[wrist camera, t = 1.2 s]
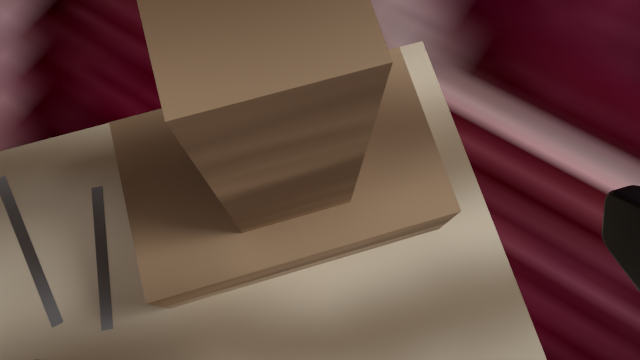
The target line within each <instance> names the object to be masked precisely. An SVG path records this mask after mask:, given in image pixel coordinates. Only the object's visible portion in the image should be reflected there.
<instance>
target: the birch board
mask: <svg viewBox="0 0 640 360" xmlns="http://www.w3.org/2000/svg"><path fill="white" fill-rule="evenodd" d="M400 50H401V53H402V55H403V58H404V60H405V63H406V66H407V68H408V71H409V74H410V76H411V79H412V82H413V84H414V87H415V90H416V92H417V95H418V98H419V100H420V103H421V106H422V108H423V111H424V114H425V116H426V119H427V122H428V124H429V127H430V130H431V132H432V135H433V138H434V140H435V143H436V145H437V148H438V151H439V153H440V156H441V159H442V161H443V164H444V167H445V169H446V172H447V175H448V177H449V180H450V183H451V185H452V188H453V191H454V193H455V196H456V199H457V201H458V204H459V207H460V209H461V212H460V213H458V214H457V215H456V216H455V217H453V218H452V219H451V220H450V221H448V222H447V223H446V224H445V225H443V226H442V227H441V228H440V229H438V230H434V231H431V232H427V233H424V234H421V235H417V236H414V237H411V238H407V239H404V240H400V241H397V242H394V243H390V244H387V245H384V246H380V247H377V248H373V249H370V250H367V251H363V252H360V253H357V254H353V255H350V256H346V257H343V258H340V259H336V260H333V261H329V262H326V263H323V264H319V265H316V266H313V267H309V268H306V269H302V270H299V271H296V272H292V273H289V274H286V275H282V276H279V277H275V278H272V279H269V280H265V281H262V282H259V283H255V284H252V285H248V286H245V287H242V288H238V289H235V290H231V291H228V292H225V293H221V294H218V295H215V296H211V297H208V298H204V299H201V300H198V301H194V302H191V303H188V304H184V305H181V306H177V307H174V308H166V307H161V306H155V305H149V304H146V303H145V298H144V293H143V288H142V283H141V278H140V273H139V268H138V264H137V259H136V254H135V249H134V244H133V239H132V234H131V229H130V224H129V219H128V214H127V209H126V204H125V199H124V194H123V189H122V184H121V180H120V175H119V170H118V165H117V160H116V155H115V150H114V145H113V140H112V135H111V130H110V125H109V123H107V124H103V125H99V126H95V127H92V128H88V129H84V130H80V131H76V132H72V133H69V134H65V135H61V136H57V137H53V138H49V139H46V140H42V141H38V142H34V143H30V144H26V145H23V146H19V147H15V148H11V149H7V150H3V151H0V360H36V359H38V360H547V359H546V357H545V354H544V351H543V349H542V346H541V344H540V341H539V339H538V336H537V334H536V331H535V328H534V326H533V323H532V321H531V318H530V316H529V313H528V310H527V308H526V305H525V303H524V300H523V298H522V295H521V293H520V290H519V287H518V285H517V282H516V280H515V277H514V275H513V272H512V270H511V267H510V264H509V262H508V259H507V257H506V254H505V252H504V249H503V247H502V244H501V241H500V239H499V236H498V234H497V231H496V229H495V226H494V223H493V221H492V218H491V216H490V213H489V211H488V208H487V206H486V203H485V200H484V198H483V195H482V193H481V190H480V188H479V185H478V183H477V180H476V177H475V175H474V172H473V170H472V167H471V165H470V162H469V159H468V157H467V154H466V152H465V149H464V147H463V144H462V142H461V139H460V136H459V134H458V131H457V129H456V126H455V124H454V121H453V119H452V116H451V113H450V111H449V108H448V106H447V103H446V101H445V98H444V96H443V93H442V90H441V88H440V85H439V83H438V80H437V78H436V75H435V72H434V70H433V67H432V65H431V62H430V60H429V57H428V55H427V52H426V49H425V47H424V44H423V42H422V41H421V42H417V43H413V44H410V45H406V46H402V47H400Z"/></svg>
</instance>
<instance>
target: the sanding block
mask: <svg viewBox="0 0 640 360" xmlns="http://www.w3.org/2000/svg"><path fill="white" fill-rule="evenodd" d="M137 4H138V8H139V12H140V16H141V21H142V25H143V29H144V34H145V38H146V42H147V46H148V51H149V55H150V59H151V64H152V68H153V72H154V76H155V81H156V85H157V89H158V94H159V98H160V102H161V106H162V109H159V110H155V111H151V112H147V113H143V114H139V115H136V116H132V117H128V118H124V119H120V120H116V121H113V122H109V125H110V130H111V135H112V140H113V145H114V150H115V155H116V160H117V165H118V170H119V175H120V180H121V184H122V189H123V194H124V199H125V204H126V209H127V214H128V219H129V224H130V229H131V234H132V239H133V244H134V249H135V254H136V259H137V264H138V268H139V273H140V278H141V283H142V288H143V293H144V298H145V303H146V304H149V305H155V306H161V307H166V308H174V307H177V306H181V305H184V304H188V303H191V302H194V301H198V300H201V299H204V298H208V297H211V296H215V295H218V294H221V293H225V292H228V291H231V290H235V289H238V288H242V287H245V286H248V285H252V284H255V283H259V282H262V281H265V280H269V279H272V278H275V277H279V276H282V275H286V274H289V273H292V272H296V271H299V270H302V269H306V268H309V267H313V266H316V265H319V264H323V263H326V262H329V261H333V260H336V259H340V258H343V257H346V256H350V255H353V254H357V253H360V252H363V251H367V250H370V249H373V248H377V247H380V246H384V245H387V244H390V243H394V242H397V241H400V240H404V239H407V238H411V237H414V236H417V235H421V234H424V233H427V232H431V231H434V230H438V229H440V228H441V227H442V226H443V225H445V224H446V223H447V222H448V221H450V220H451V219H452V218H453V217H455V216H456V215H457V214H458V213H460V212H461V209H460V207H459V204H458V201H457V199H456V196H455V193H454V191H453V188H452V185H451V183H450V180H449V177H448V175H447V172H446V169H445V167H444V164H443V161H442V159H441V156H440V153H439V151H438V148H437V145H436V143H435V140H434V138H433V135H432V132H431V130H430V127H429V124H428V122H427V119H426V116H425V114H424V111H423V108H422V106H421V103H420V100H419V98H418V95H417V92H416V90H415V87H414V84H413V82H412V79H411V76H410V74H409V71H408V68H407V66H406V63H405V60H404V58H403V55H402V53H401V50H400V47H397V48H393V49H390V50H388V47H387V45H386V42H385V39H384V37H383V34H382V31H381V28H380V26H379V23H378V20H377V18H376V15H375V12H374V10H373V7H372V4H371V1H370V0H137Z"/></svg>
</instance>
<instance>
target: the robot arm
mask: <svg viewBox="0 0 640 360" xmlns="http://www.w3.org/2000/svg"><path fill="white" fill-rule="evenodd" d="M602 237H603V241H604V243H605V245H606V247H607V248H608V250H609V251H610V253H611V254H612V255H613V257H614V258H615V259H616V261H617V262H618V263H619V265H620V266H621V267H622V269H623V270H624V271H625V273H626V274H627V275H628V277H629V278H630V279H631V280H632V282H633V283H634V284H635V286H636V287H637V288H638V290H639V291H640V186H636V185H631V186H627V187H623V188H620V189H616V190H613V191H611V192H609V193H608V194H607V196H606V198H605V204H604V215H603V225H602ZM36 360H38V359H36Z"/></svg>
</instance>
